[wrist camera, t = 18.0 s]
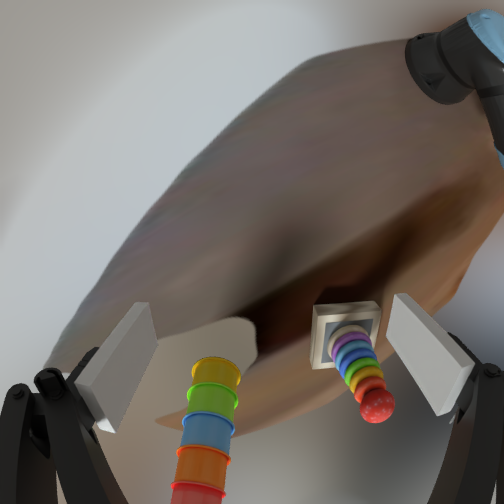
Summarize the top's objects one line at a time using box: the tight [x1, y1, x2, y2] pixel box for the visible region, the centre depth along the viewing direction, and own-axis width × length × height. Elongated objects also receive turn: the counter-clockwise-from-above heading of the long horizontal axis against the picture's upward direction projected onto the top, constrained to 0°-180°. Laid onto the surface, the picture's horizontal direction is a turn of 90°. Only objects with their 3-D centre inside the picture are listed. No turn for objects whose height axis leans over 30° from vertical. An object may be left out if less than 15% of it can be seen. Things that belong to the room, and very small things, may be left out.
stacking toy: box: [327, 325, 395, 423], centre depth 37 cm, size 8×8×19 cm
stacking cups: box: [171, 357, 241, 504], centre depth 37 cm, size 10×10×35 cm
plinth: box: [309, 301, 382, 369], centre depth 48 cm, size 12×12×4 cm
